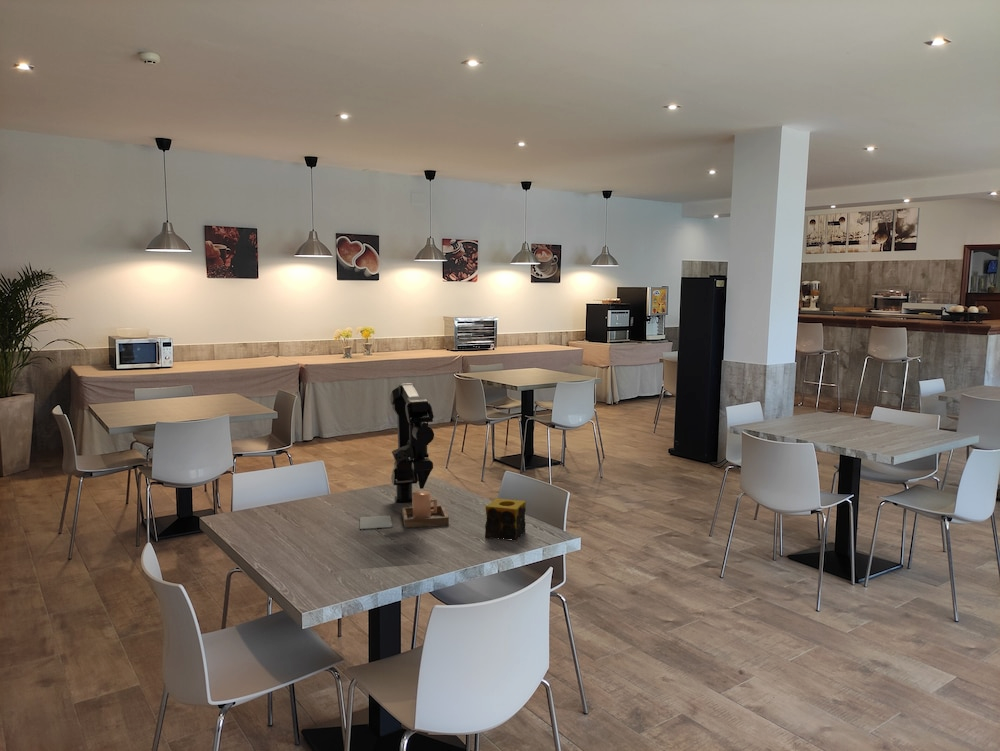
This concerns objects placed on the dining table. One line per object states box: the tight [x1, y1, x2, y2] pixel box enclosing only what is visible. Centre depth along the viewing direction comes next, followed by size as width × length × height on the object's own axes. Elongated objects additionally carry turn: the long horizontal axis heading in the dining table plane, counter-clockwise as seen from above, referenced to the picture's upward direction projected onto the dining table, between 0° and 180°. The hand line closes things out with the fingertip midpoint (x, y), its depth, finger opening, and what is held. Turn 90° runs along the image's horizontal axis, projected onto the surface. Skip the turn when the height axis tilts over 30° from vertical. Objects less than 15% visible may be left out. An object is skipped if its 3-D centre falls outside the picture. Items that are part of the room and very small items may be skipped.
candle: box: [484, 498, 527, 541], centre depth 222 cm, size 10×10×10 cm
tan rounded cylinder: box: [411, 490, 438, 519], centre depth 237 cm, size 6×8×9 cm
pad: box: [359, 515, 393, 531], centre depth 234 cm, size 12×10×1 cm
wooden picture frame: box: [401, 504, 450, 529], centre depth 237 cm, size 14×14×2 cm
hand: (419, 484), depth 236 cm, fingers open, 9 cm apart
